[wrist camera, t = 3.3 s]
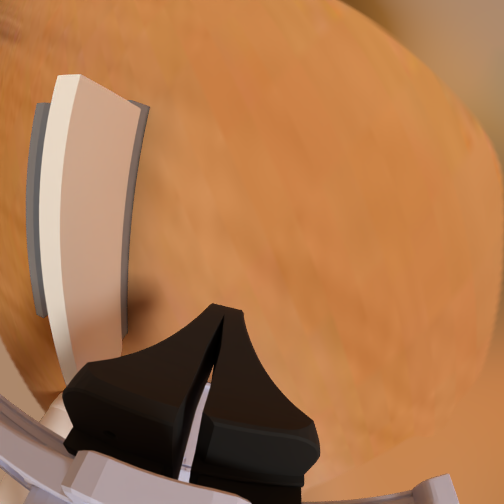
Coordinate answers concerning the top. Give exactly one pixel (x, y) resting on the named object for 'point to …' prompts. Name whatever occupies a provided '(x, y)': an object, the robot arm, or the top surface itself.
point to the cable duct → (33, 208)
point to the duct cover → (84, 218)
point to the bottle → (56, 419)
